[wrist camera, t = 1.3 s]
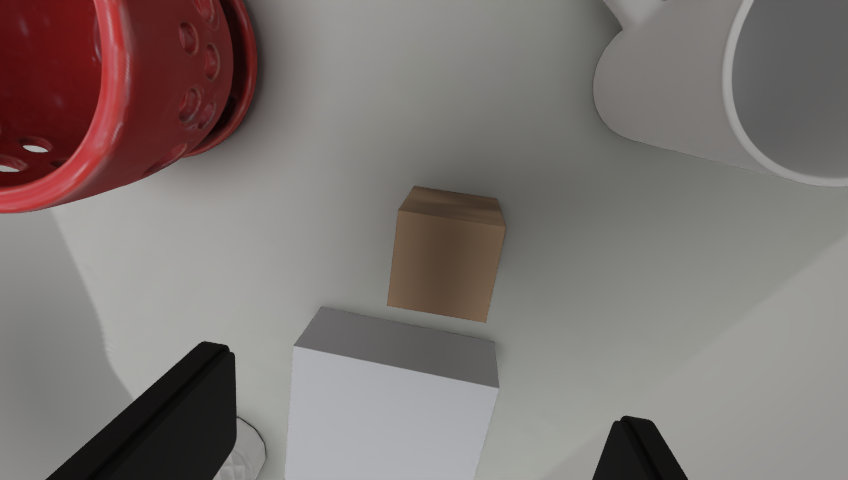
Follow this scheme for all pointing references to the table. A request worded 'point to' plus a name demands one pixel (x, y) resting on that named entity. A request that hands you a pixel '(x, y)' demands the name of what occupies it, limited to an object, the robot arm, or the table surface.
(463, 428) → the grey block
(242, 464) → the white cup
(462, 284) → the walnut block
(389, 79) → the table surface
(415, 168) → the table surface
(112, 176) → the plant pot
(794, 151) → the mug
